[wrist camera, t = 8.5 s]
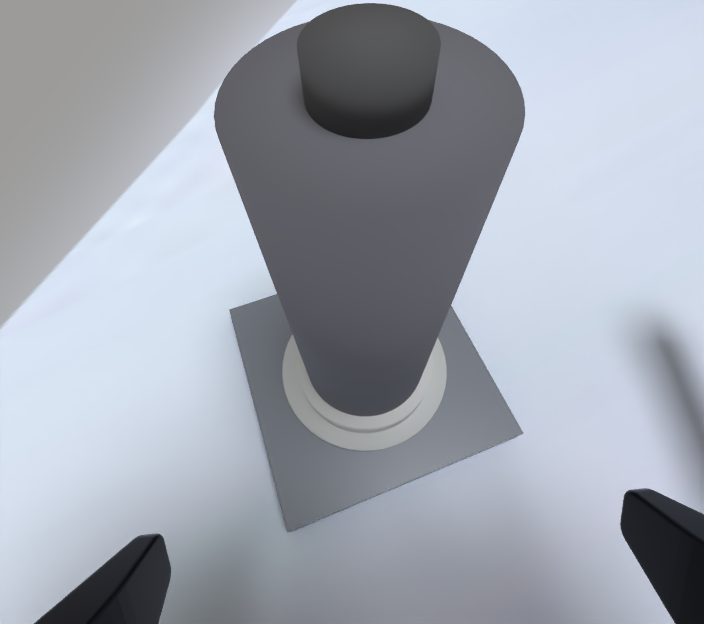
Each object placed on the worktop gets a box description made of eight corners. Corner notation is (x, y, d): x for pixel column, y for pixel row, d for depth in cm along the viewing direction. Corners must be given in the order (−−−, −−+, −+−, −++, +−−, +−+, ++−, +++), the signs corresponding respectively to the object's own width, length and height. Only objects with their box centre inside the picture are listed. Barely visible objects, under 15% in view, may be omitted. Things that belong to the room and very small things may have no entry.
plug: (437, 429, 16) (647, 176, 4) (299, 436, 16) (121, 204, 4) (420, 308, 19) (520, -61, 7) (301, 314, 19) (194, -43, 7)
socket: (516, 436, 17) (525, 432, 16) (291, 531, 15) (286, 532, 15) (416, 256, 21) (418, 245, 20) (233, 317, 20) (228, 307, 19)
